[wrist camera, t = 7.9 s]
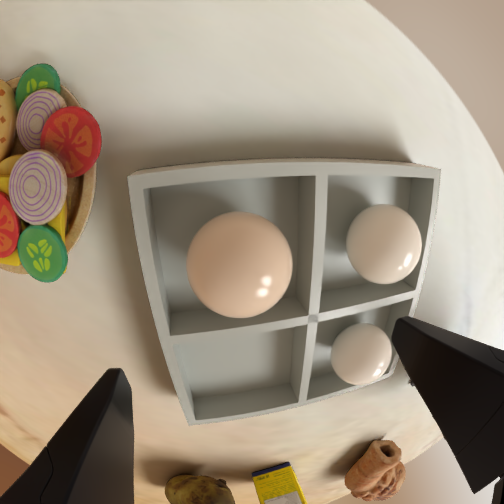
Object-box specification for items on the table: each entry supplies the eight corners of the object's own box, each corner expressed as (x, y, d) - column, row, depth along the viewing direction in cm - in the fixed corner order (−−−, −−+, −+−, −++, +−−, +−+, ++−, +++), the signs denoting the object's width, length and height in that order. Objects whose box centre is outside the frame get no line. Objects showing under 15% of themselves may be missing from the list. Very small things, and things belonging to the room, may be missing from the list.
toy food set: (-25, 85, 9) (-51, 82, 6) (126, 66, 12) (113, 50, 9) (-30, 256, 13) (-52, 274, 10) (104, 277, 17) (91, 303, 14)
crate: (413, 162, 18) (440, 169, 15) (377, 357, 25) (392, 375, 23) (138, 170, 14) (127, 176, 12) (186, 398, 22) (188, 425, 19)
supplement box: (260, 481, 34) (276, 535, 24) (250, 472, 31) (268, 533, 21) (295, 471, 34) (315, 523, 24) (289, 460, 32) (312, 520, 22)
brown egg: (273, 197, 16) (313, 223, 11) (274, 279, 18) (306, 328, 14) (180, 206, 15) (179, 238, 10) (191, 291, 17) (197, 347, 12)
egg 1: (393, 195, 18) (443, 215, 13) (385, 259, 20) (427, 290, 15) (334, 197, 17) (381, 219, 13) (329, 268, 19) (367, 306, 14)
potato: (141, 477, 28) (143, 522, 20) (201, 455, 27) (211, 510, 19) (183, 490, 31) (189, 530, 24) (244, 468, 30) (257, 515, 23)
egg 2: (376, 305, 22) (411, 340, 17) (365, 349, 23) (393, 385, 19) (324, 317, 21) (355, 360, 16) (317, 363, 23) (341, 405, 18)
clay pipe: (320, 469, 45) (375, 470, 45) (322, 509, 35) (381, 506, 35) (369, 423, 38) (426, 425, 39) (380, 471, 28) (441, 465, 28)
